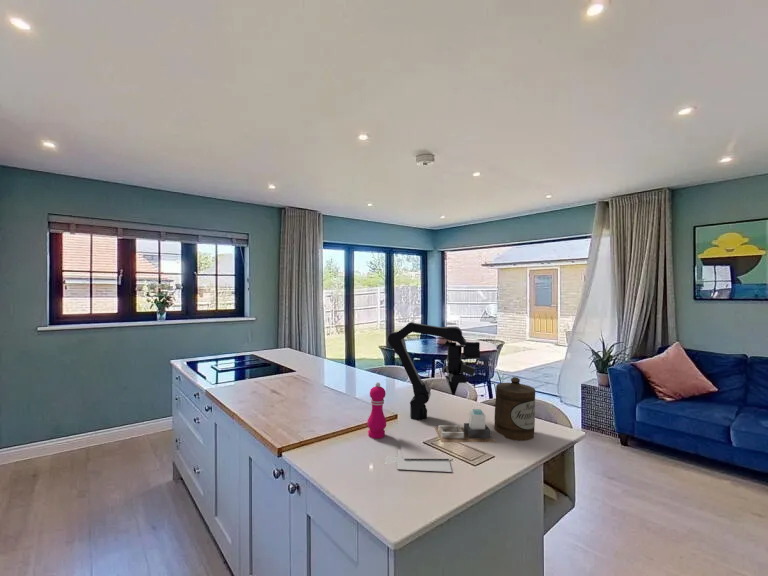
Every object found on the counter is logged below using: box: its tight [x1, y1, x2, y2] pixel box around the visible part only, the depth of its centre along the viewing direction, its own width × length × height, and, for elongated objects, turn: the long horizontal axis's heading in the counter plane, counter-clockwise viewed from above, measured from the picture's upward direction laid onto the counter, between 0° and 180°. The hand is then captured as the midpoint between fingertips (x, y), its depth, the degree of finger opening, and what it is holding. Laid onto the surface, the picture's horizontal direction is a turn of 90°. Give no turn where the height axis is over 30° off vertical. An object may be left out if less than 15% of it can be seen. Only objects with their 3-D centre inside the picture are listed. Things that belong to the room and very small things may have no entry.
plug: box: [468, 408, 486, 429], centre depth 142 cm, size 5×4×9 cm
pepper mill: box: [366, 382, 387, 440], centre depth 141 cm, size 7×7×20 cm
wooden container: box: [493, 376, 536, 442], centre depth 146 cm, size 15×15×22 cm
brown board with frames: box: [434, 422, 497, 443], centre depth 141 cm, size 20×14×4 cm
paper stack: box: [384, 448, 453, 473], centre depth 117 cm, size 23×25×1 cm
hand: (453, 394), depth 155 cm, fingers closed
